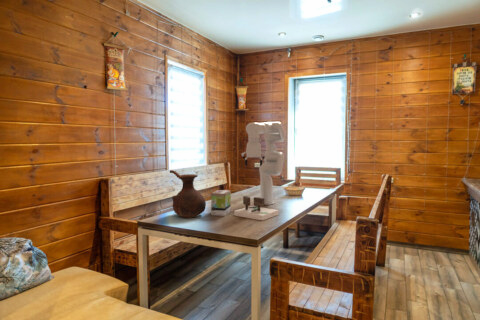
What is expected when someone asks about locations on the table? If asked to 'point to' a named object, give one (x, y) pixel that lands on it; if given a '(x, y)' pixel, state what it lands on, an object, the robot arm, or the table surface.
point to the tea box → (220, 202)
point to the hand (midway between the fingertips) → (253, 165)
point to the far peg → (247, 202)
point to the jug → (188, 198)
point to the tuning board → (256, 213)
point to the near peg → (258, 203)
